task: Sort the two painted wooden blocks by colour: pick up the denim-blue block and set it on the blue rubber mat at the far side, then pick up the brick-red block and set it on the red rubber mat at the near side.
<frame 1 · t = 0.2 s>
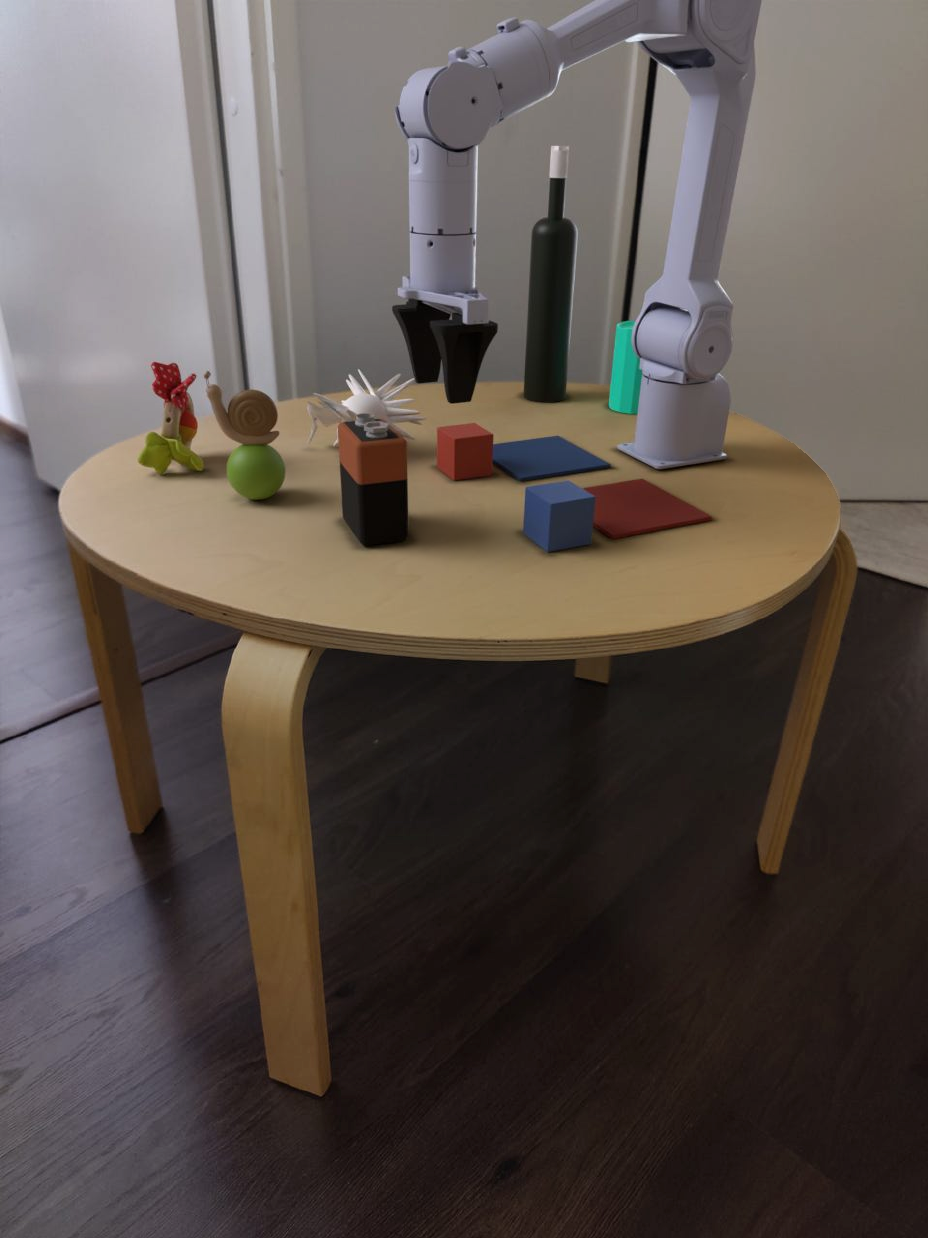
hand: (442, 391, 80), 10 cm above the table, tool pointing down, fingers open, 7 cm apart
blue block: (556, 538, 76), on the table
wine bottle: (544, 398, 118), on the table
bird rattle: (179, 467, 91), on the table
blue mat: (540, 458, 95), on the table
red block: (464, 471, 91), on the table
battery: (375, 532, 77), on the table
snail figurine: (253, 499, 83), on the table
red mat: (628, 508, 82), on the table
candle: (631, 408, 114), on the table
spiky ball: (357, 451, 96), on the table
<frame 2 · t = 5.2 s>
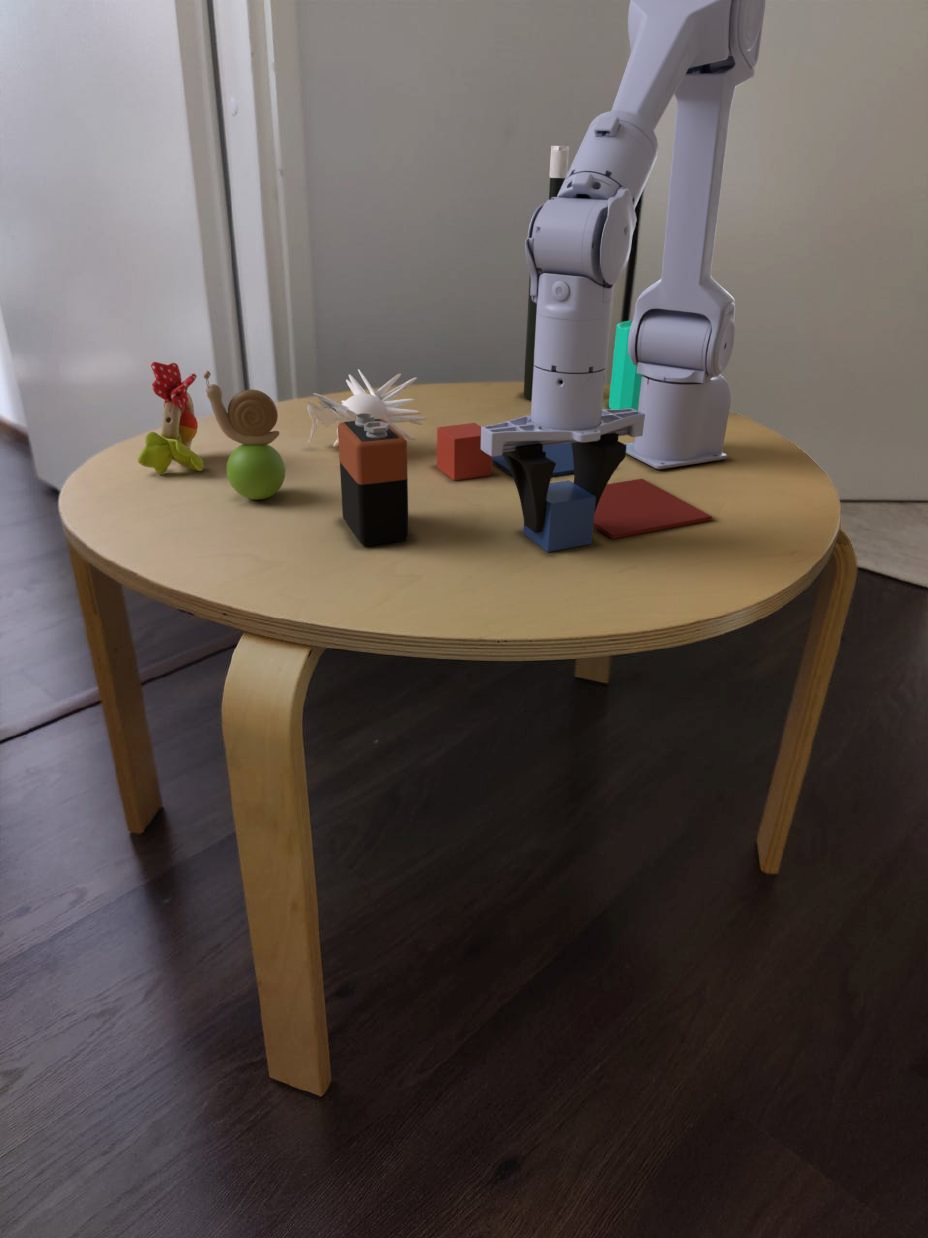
hand: (557, 524, 75), 1 cm above the table, tool pointing down, fingers closed on blue block, 4 cm apart
blue block: (556, 538, 76), on the table, touching gripper
everything else where it was.
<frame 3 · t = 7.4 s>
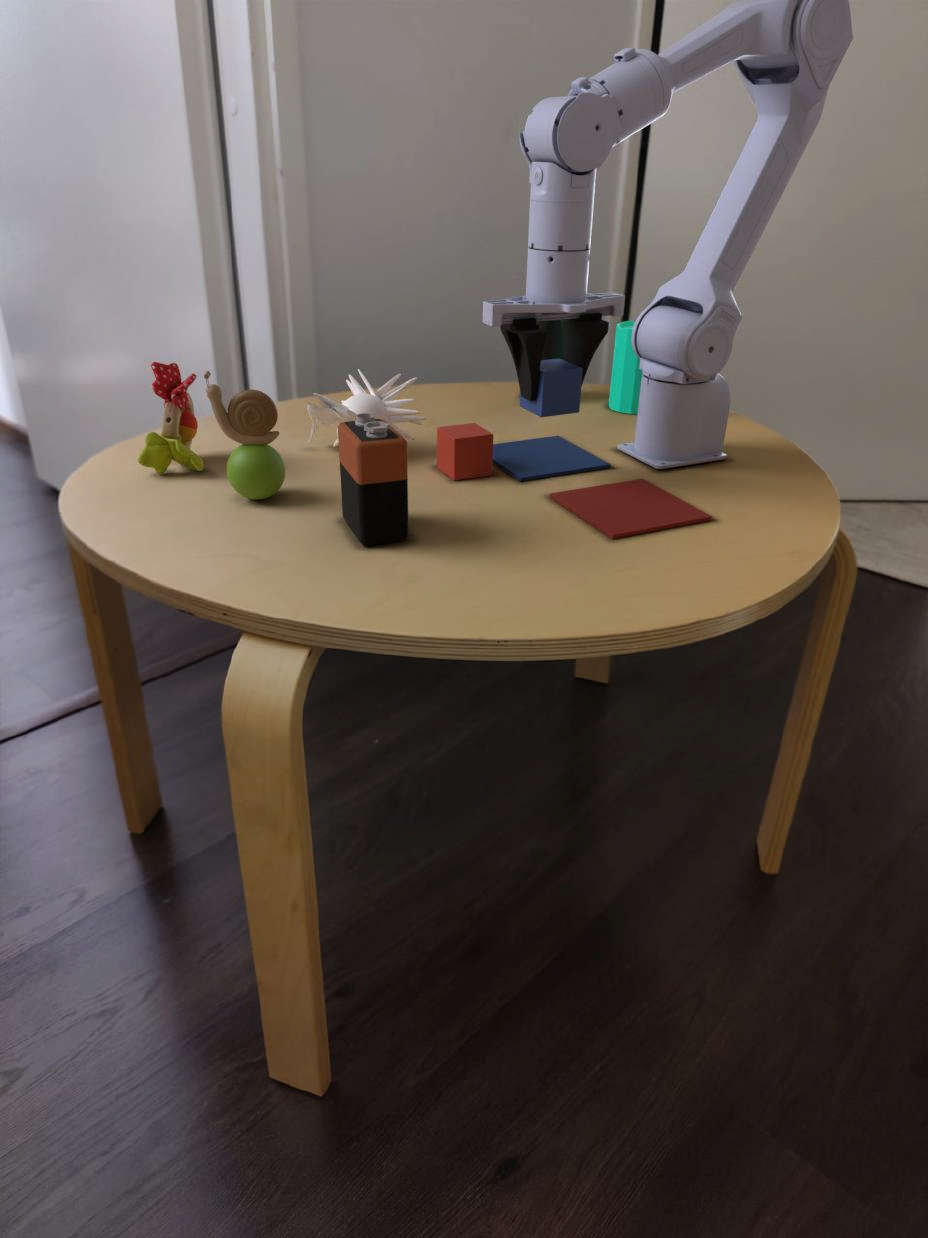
hand: (549, 395, 86), 8 cm above the table, tool pointing down, fingers closed on blue block, 4 cm apart
blue block: (549, 409, 87), point 7 cm above the table, touching gripper
everything else where it was.
when the fingers open (2 cm above the table, at t = 9.9 s): blue block stays where it is, resting on blue mat.
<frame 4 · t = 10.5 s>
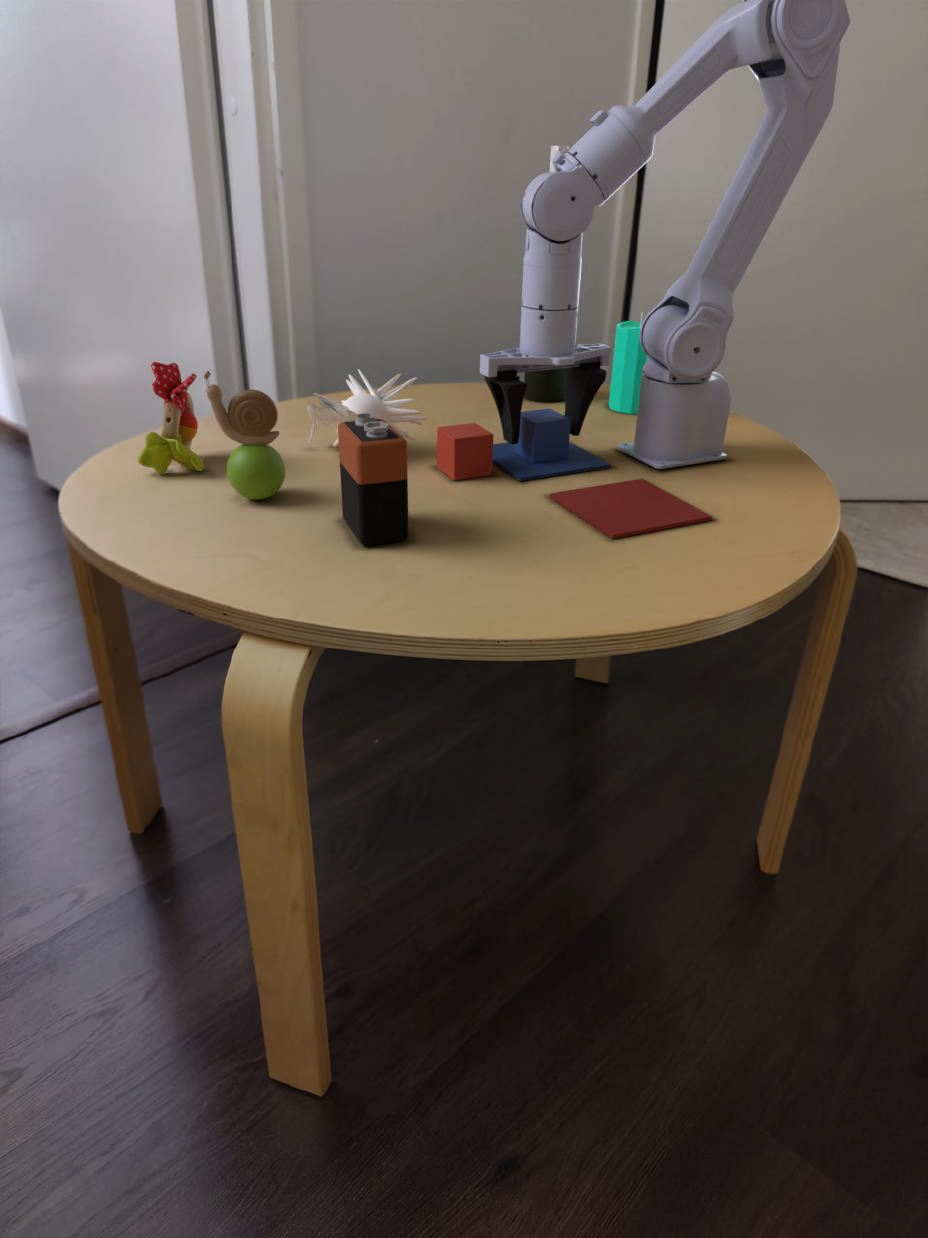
hand: (541, 437, 93), 2 cm above the table, tool pointing down, fingers open, 7 cm apart
blue block: (540, 454, 95), resting on blue mat
everything else where it was.
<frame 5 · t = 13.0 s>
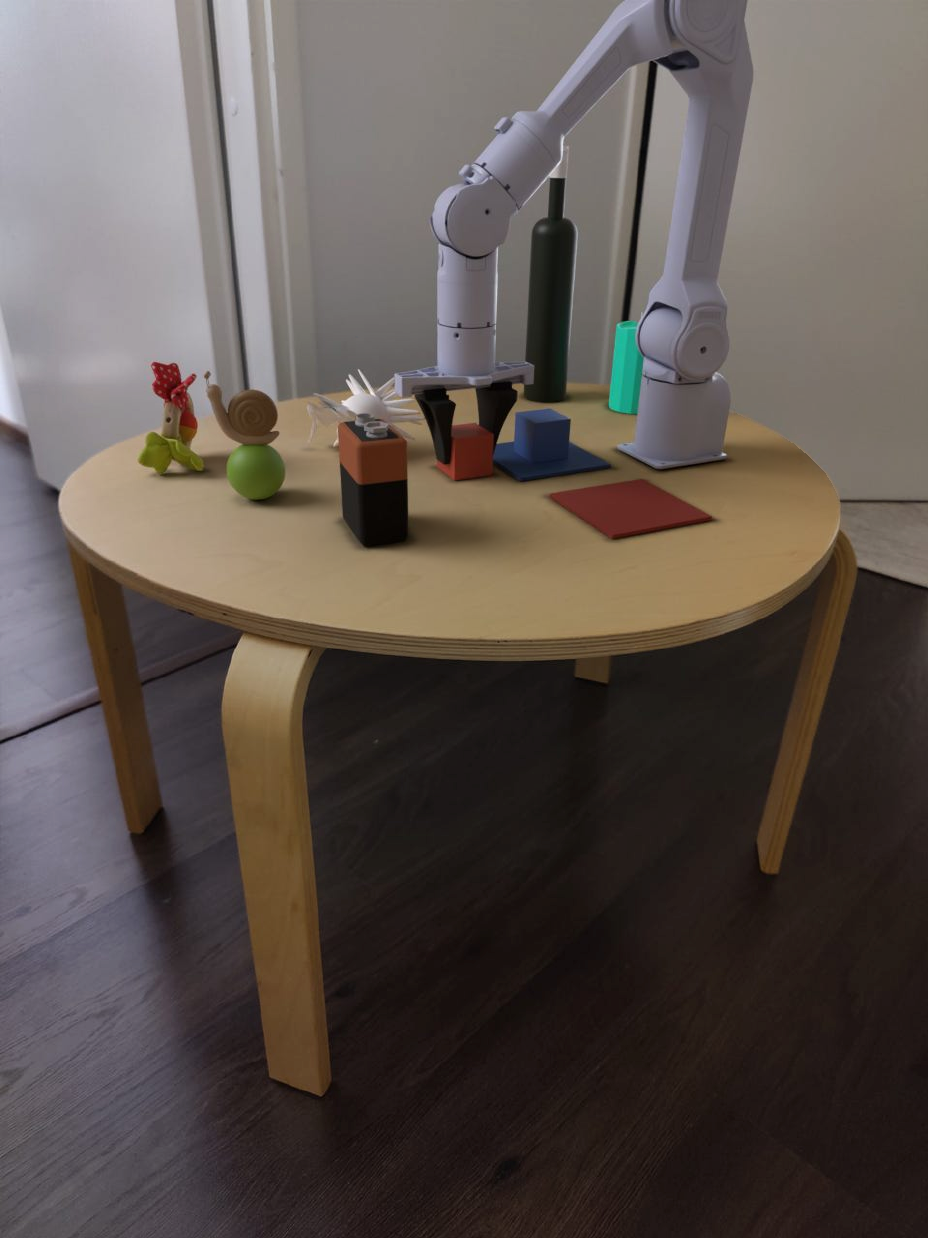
hand: (464, 458, 90), 1 cm above the table, tool pointing down, fingers closed on red block, 4 cm apart
red block: (464, 471, 91), on the table, touching gripper
everything else where it was.
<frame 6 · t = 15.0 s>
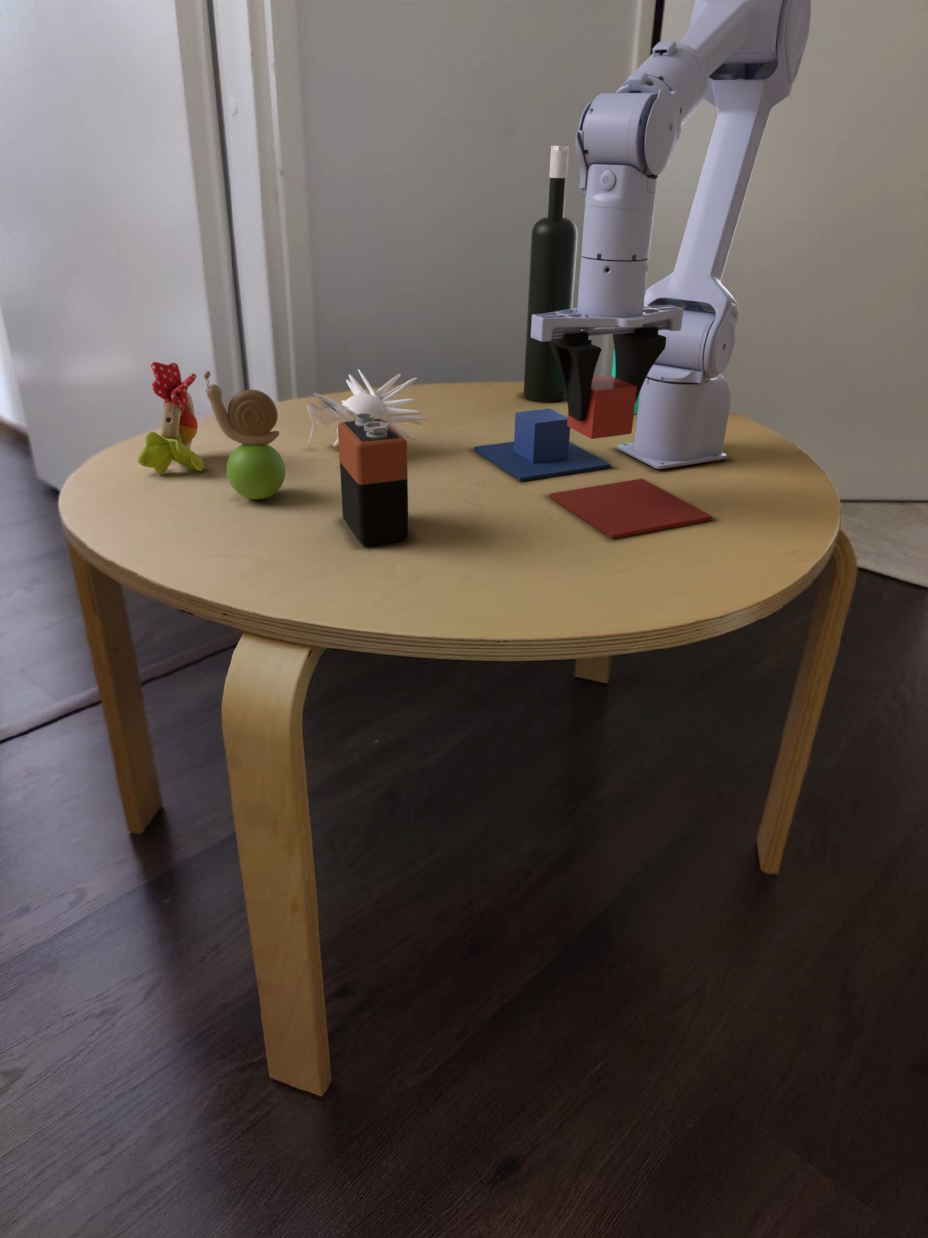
hand: (599, 415, 80), 8 cm above the table, tool pointing down, fingers closed on red block, 4 cm apart
red block: (598, 429, 81), point 7 cm above the table, touching gripper
everything else where it was.
when the fingers open (2 cm above the table, at t = 17.4 s): red block stays where it is, resting on red mat.
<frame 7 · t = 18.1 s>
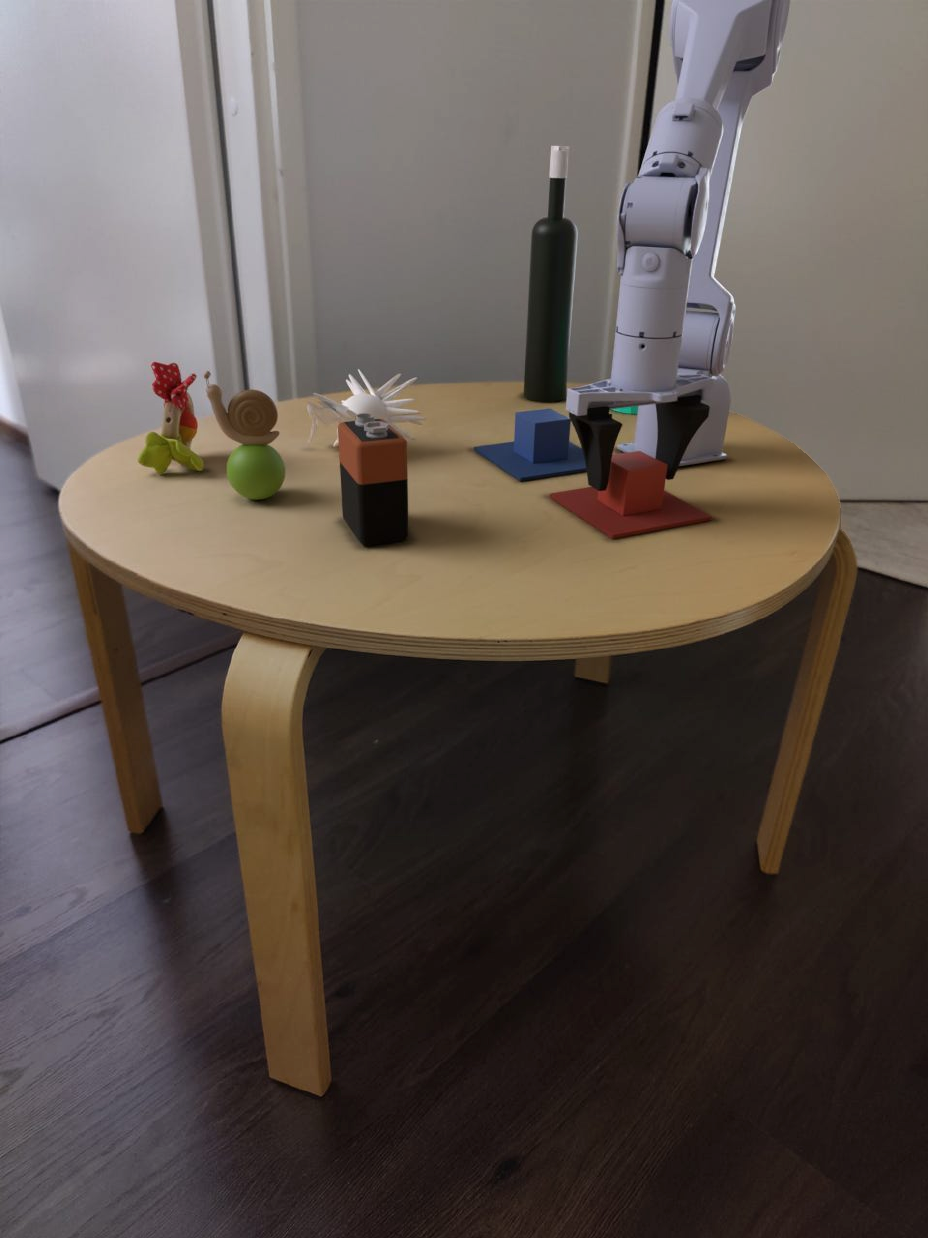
hand: (631, 481, 81), 3 cm above the table, tool pointing down, fingers open, 7 cm apart
red block: (629, 504, 82), resting on red mat
everything else where it was.
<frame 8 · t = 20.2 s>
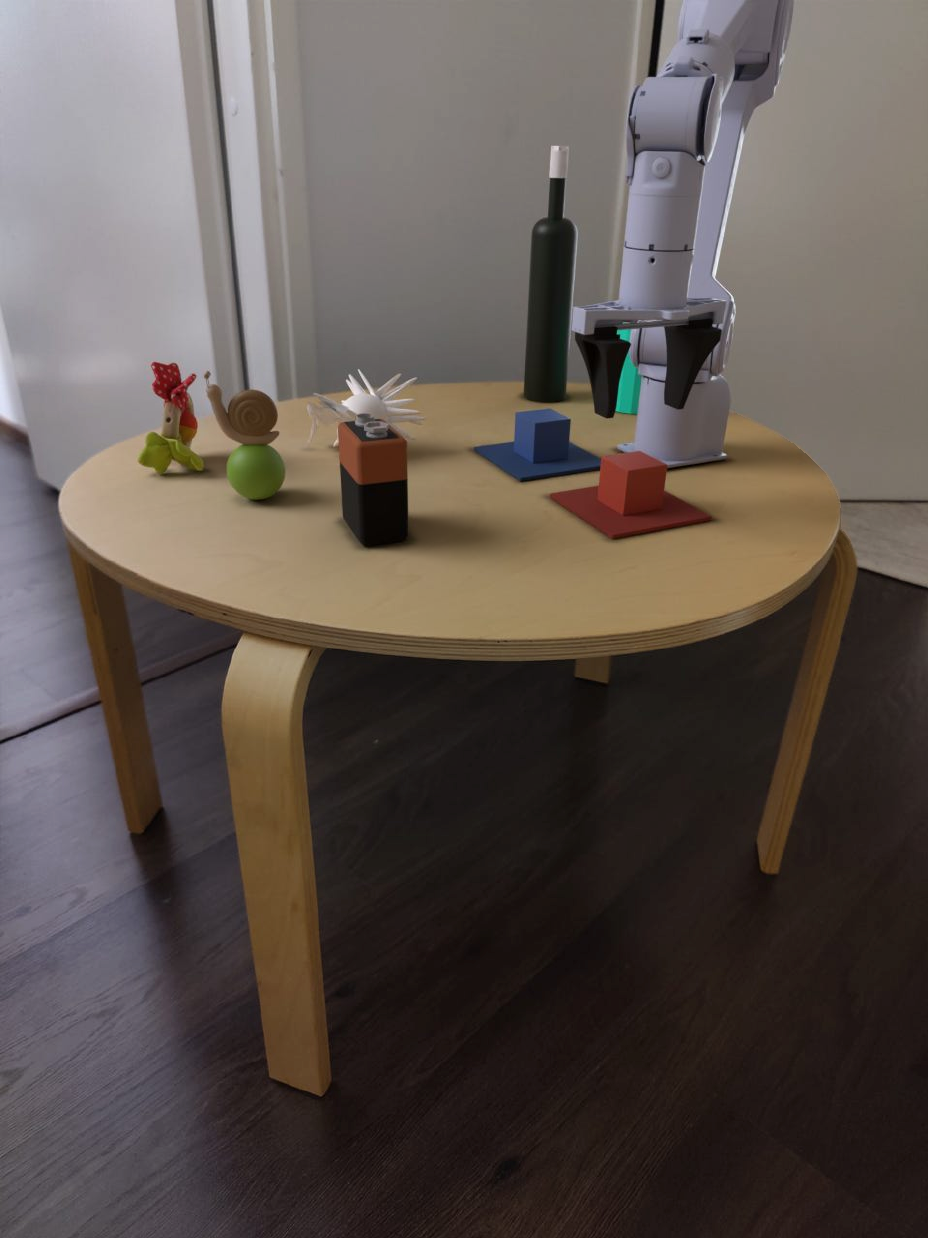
hand: (639, 410, 78), 9 cm above the table, tool pointing down, fingers open, 7 cm apart
nothing on the table moved.
at the end: blue block inside the target area on the blue mat (0.1 cm from its centre), point 0.4 cm above the blue mat's base; red block inside the target area on the red mat (0.1 cm from its centre), point 0.4 cm above the red mat's base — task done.
